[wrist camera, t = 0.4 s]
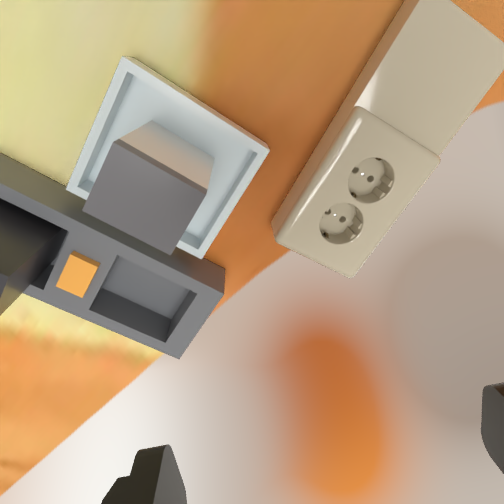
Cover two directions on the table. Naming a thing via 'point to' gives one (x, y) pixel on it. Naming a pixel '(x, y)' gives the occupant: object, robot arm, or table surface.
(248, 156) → the tray
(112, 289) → the power strip
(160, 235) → the plug
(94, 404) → the table surface
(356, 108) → the electrical outlet
